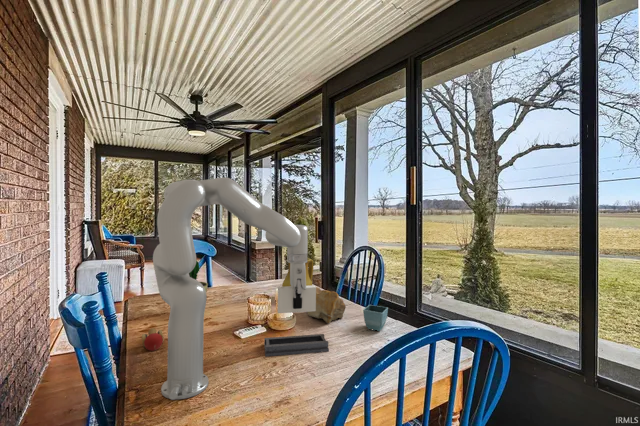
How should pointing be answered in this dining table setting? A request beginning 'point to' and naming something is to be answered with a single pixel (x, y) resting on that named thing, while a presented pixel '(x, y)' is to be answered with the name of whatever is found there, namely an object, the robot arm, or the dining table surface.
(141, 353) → the dining table surface
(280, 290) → the door panel
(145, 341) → the kendama
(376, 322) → the flower pot
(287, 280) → the pitcher
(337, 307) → the rough brown rock
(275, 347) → the floor track
